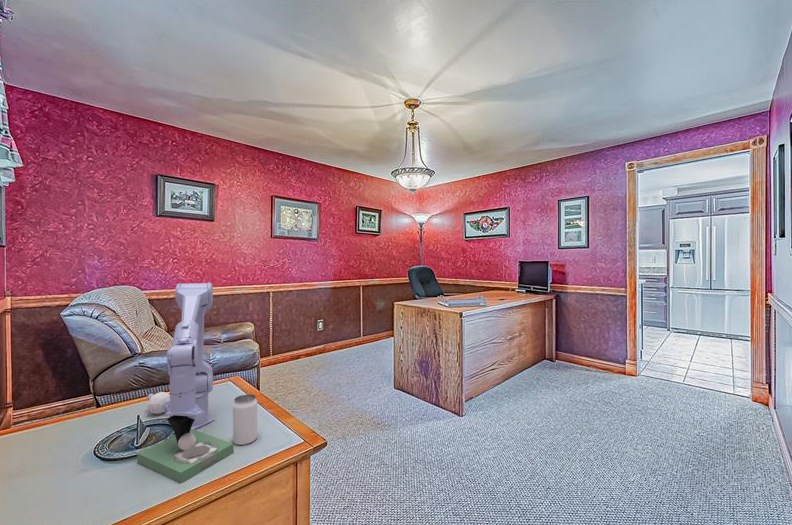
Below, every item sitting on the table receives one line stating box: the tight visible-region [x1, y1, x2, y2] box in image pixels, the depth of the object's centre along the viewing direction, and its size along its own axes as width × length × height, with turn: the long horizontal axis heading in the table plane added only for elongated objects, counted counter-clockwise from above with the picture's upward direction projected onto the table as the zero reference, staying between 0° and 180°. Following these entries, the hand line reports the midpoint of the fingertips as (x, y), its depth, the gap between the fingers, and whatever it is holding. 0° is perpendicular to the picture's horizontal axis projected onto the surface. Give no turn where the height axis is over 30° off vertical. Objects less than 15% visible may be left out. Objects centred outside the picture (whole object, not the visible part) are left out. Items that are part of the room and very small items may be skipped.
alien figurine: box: [146, 391, 170, 415], centre depth 116 cm, size 7×7×12 cm
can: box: [232, 393, 259, 446], centre depth 99 cm, size 6×6×12 cm
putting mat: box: [136, 429, 235, 484], centre depth 90 cm, size 18×14×2 cm
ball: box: [178, 433, 196, 450], centre depth 90 cm, size 4×4×4 cm
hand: (182, 442), depth 90 cm, fingers closed, pressing on ball
